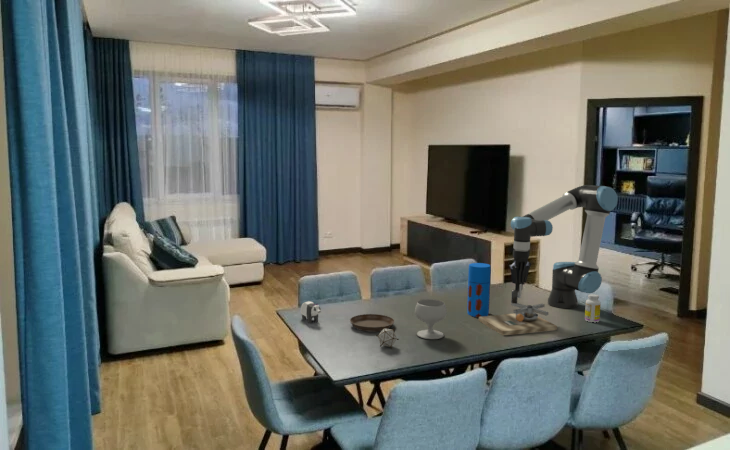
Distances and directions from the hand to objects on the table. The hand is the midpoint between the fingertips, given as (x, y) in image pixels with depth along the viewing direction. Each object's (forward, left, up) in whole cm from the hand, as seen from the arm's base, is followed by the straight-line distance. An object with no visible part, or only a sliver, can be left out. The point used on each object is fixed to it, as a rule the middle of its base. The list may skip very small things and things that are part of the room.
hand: (518, 297), depth 266 cm
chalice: (+50, +10, -11) cm, 52 cm away
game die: (+73, +18, -11) cm, 76 cm away
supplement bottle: (-34, +12, -11) cm, 38 cm away
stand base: (+5, +8, -11) cm, 15 cm away
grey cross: (0, +10, -8) cm, 13 cm away
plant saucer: (+71, -9, -12) cm, 73 cm away
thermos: (+14, -13, -11) cm, 22 cm away
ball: (+5, +10, -9) cm, 14 cm away
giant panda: (+97, -24, -11) cm, 101 cm away
